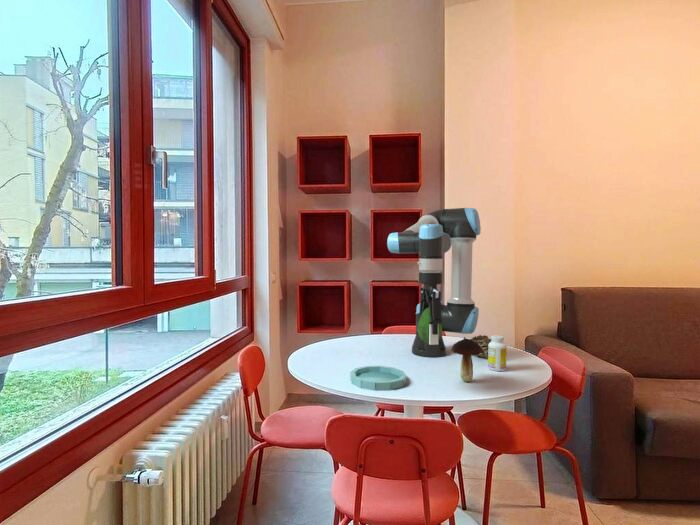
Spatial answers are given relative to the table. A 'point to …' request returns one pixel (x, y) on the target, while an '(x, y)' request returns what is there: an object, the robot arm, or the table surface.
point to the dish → (378, 377)
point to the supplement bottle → (497, 354)
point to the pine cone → (482, 344)
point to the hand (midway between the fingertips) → (429, 341)
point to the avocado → (426, 326)
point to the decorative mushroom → (466, 356)
